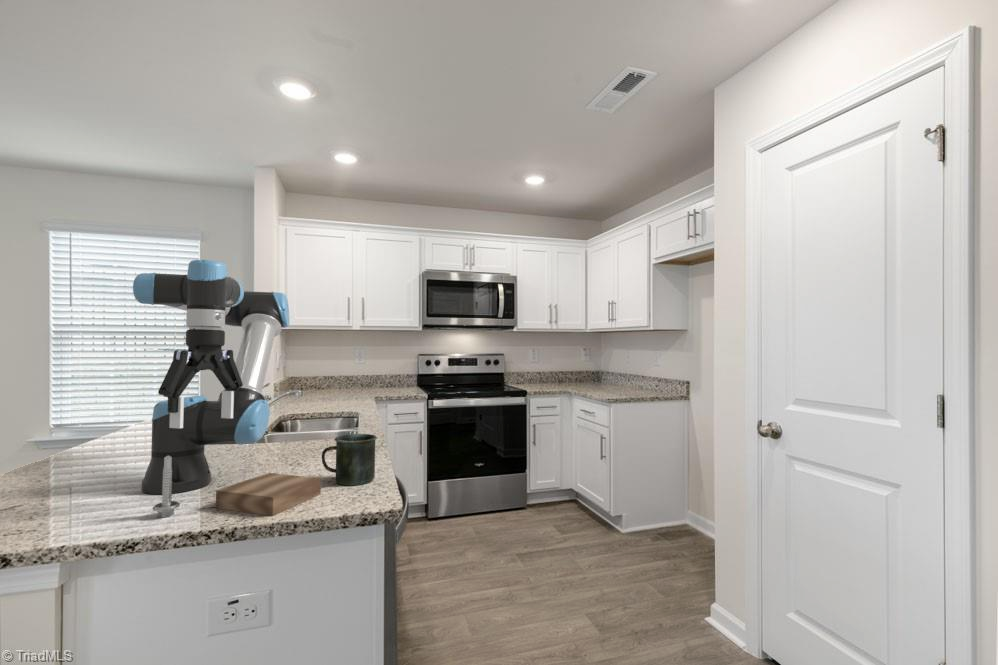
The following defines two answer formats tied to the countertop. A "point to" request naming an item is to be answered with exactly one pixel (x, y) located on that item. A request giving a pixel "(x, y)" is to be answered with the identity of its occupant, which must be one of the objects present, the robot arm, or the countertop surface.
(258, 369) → the robot arm
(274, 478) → the wooden block
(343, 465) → the mug
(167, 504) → the screw
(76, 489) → the countertop surface
